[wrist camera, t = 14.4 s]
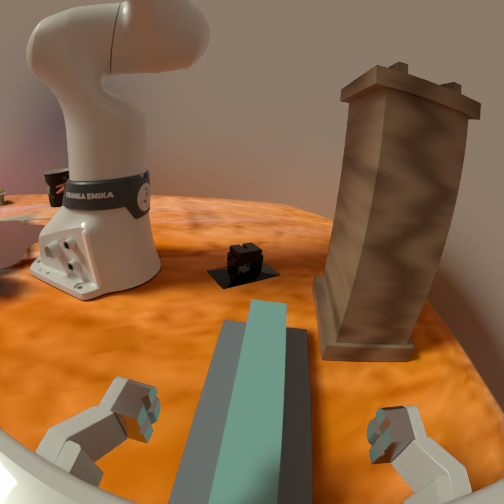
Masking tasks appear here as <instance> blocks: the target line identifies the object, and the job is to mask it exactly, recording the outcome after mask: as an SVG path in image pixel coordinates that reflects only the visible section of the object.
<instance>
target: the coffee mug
mask: <svg viewBox="0 0 504 504" xmlns="http://www.w3.org/2000/svg"><path fill="white" fill-rule="evenodd" d="M44 175H45V180H46V186H47V191H48V196H49V201H50V205H51V207H60V206H62V201H63V196H64V192H62V193H59V194H57V192H58V191H59V190H61V189H62V187H59V188H56V186H58V185H61V184H64V183H66V182H67V180H68V179H69V169H68V168H66V169H58V170H53V171H49V172H46V173H44Z"/></svg>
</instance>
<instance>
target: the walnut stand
mask: <svg viewBox="0 0 504 504" xmlns="http://www.w3.org/2000/svg"><path fill="white" fill-rule="evenodd" d="M340 101H342V102H347V103H349V111H348V121H347V131H346V140H345V148H344V156H343V164H342V171H341V179H340V185H339V192H338V199H337V204H336V210H335V217H334V222H333V228H332V233H331V239H330V244H329V249H328V254H327V259H326V264H325V269H324V274H323V277H319V276H315V279H314V284H313V295H314V302H315V310H316V317H317V325H318V333H319V341H320V349H321V358H322V360H334V361H360V362H408V361H409V359H410V357H411V355H412V353H413V351H414V349H415V347H414V345H413V343H412V341H411V339H410V335H411V333H412V331H413V329H414V327H415V324H416V322H417V320H418V318H419V315H420V313H421V310H422V308H423V306H424V303H425V301H426V298H427V296H428V293H429V290H430V288H431V285H432V282H433V279H434V276H435V274H436V271H437V268H438V265H439V262H440V259H441V256H442V252H443V249H444V246H445V242H446V239H447V236H448V232H449V228H450V224H451V220H452V217H453V212H454V208H455V204H456V199H457V195H458V190H459V185H460V179H461V174H462V168H463V161H464V154H465V147H466V138H467V128H468V119H478V120H480V109H481V104H480V103H479V102H477V101H475V100H473V99H470V98H468V97H466V96H464V95H462V94H461V85H459V84H457V83H455V82H452V83H447V84H442V85H438V84H435V83H432V82H429V81H427V80H424V79H421V78H418V77H416V76H412V75H409V74H408V64H405V63H402V62H397V63H395V64H394V65H392V66H390V67H388V68H386V67H382V66H379V65H376V66H375V67H373V68H372V69H370V70H369V71H367V72H366V73H364V74H363V75H361V76H360V77H359V78H357V79H356V80H354V81H353V82H351V83H350V84H348V85H347V86H346V87H344V88H343V89H342V90H341V98H340Z"/></svg>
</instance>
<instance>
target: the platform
mask: <svg viewBox="0 0 504 504" xmlns="http://www.w3.org/2000/svg"><path fill="white" fill-rule="evenodd" d="M5 193H6V191H3V190H2V188H1V187H0V203H1V205H5V202H4V194H5ZM1 205H0V206H1Z"/></svg>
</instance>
